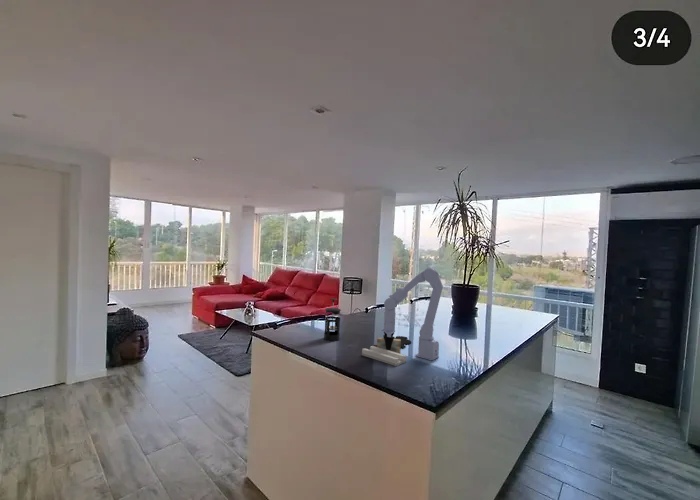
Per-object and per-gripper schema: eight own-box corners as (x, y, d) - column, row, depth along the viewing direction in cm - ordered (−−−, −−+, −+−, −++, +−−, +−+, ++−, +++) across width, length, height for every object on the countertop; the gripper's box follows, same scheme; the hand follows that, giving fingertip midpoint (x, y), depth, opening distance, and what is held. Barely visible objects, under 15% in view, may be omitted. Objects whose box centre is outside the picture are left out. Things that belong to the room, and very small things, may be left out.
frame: (400, 351, 169) (400, 339, 169) (400, 353, 166) (400, 340, 166) (376, 349, 170) (377, 337, 170) (376, 351, 167) (377, 339, 167)
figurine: (395, 353, 166) (418, 341, 191) (395, 351, 166) (418, 339, 191) (369, 346, 175) (394, 336, 200) (369, 345, 175) (394, 334, 200)
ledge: (406, 361, 153) (406, 355, 153) (396, 366, 147) (396, 359, 147) (372, 351, 166) (372, 345, 166) (361, 355, 160) (362, 349, 160)
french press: (333, 342, 179) (335, 300, 179) (319, 339, 184) (321, 298, 184) (344, 337, 190) (346, 298, 190) (330, 335, 194) (332, 296, 194)
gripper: (382, 317, 176) (380, 342, 176) (381, 323, 161) (380, 351, 161) (395, 318, 175) (394, 344, 175) (395, 324, 160) (394, 352, 160)
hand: (388, 347), depth 168 cm, fingers open, 7 cm apart
